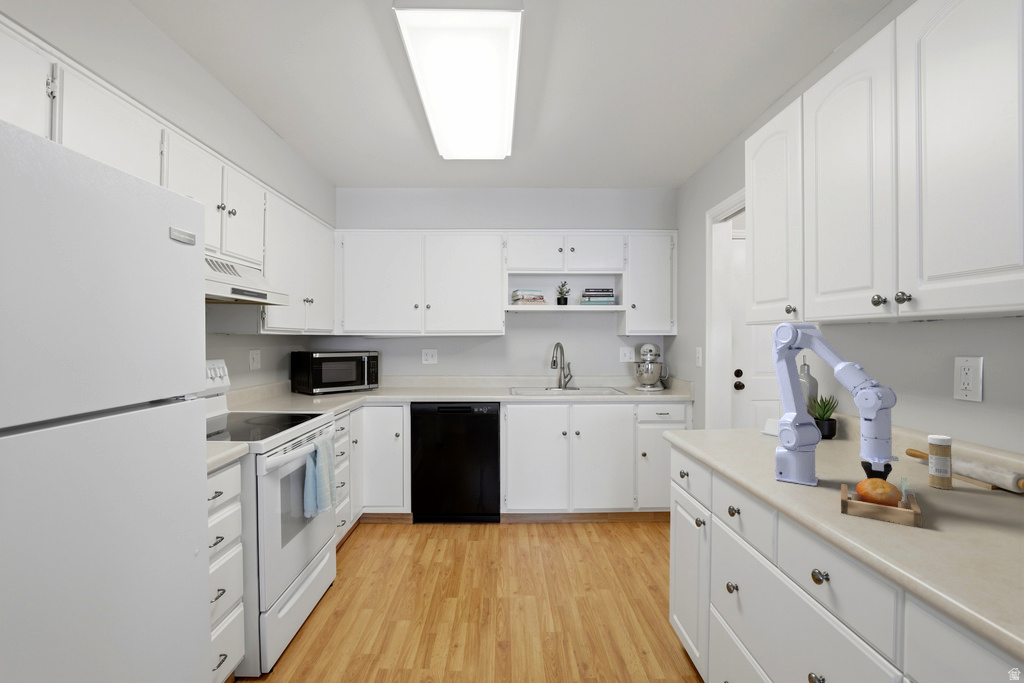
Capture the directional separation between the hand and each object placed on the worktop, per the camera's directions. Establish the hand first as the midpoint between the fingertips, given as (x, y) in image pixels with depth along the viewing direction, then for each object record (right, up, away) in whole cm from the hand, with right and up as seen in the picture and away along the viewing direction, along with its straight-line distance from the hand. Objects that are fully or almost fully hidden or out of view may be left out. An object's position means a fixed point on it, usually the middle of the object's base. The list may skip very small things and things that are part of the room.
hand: (876, 493), depth 104 cm
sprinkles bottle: (+26, -2, +11) cm, 28 cm away
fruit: (-3, -3, -4) cm, 6 cm away
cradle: (-3, -3, -4) cm, 5 cm away
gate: (+10, -2, +3) cm, 11 cm away
